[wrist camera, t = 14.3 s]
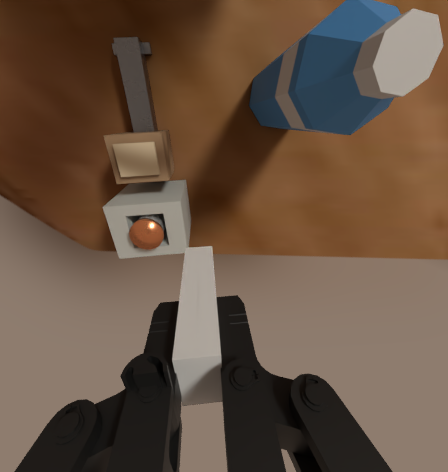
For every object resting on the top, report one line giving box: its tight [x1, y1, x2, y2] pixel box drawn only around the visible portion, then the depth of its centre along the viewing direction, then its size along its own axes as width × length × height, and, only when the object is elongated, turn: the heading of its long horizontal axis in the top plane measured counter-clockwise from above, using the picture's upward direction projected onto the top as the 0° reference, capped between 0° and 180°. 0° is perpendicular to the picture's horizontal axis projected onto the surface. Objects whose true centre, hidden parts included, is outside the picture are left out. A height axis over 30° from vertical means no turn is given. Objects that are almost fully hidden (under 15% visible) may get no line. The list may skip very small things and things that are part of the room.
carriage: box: [104, 130, 174, 184], centre depth 32 cm, size 6×7×10 cm
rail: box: [112, 37, 158, 132], centre depth 33 cm, size 18×5×3 cm, turn 3°
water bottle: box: [249, 0, 443, 135], centre depth 24 cm, size 9×9×25 cm
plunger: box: [129, 213, 166, 250], centre depth 32 cm, size 4×4×6 cm
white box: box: [103, 180, 191, 259], centre depth 36 cm, size 8×10×12 cm
